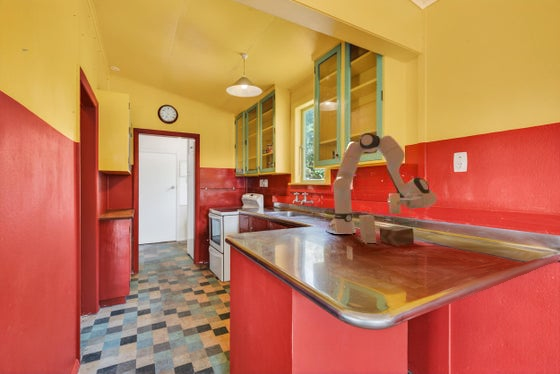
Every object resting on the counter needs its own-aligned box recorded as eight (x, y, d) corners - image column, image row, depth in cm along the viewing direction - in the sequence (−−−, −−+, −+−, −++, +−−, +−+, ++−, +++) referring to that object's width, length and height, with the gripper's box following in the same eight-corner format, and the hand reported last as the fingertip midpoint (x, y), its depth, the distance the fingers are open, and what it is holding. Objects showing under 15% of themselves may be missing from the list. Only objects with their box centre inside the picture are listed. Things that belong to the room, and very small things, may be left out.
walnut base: (380, 241, 143) (379, 227, 143) (396, 239, 148) (395, 225, 148) (396, 246, 132) (395, 230, 132) (413, 243, 136) (413, 228, 136)
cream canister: (387, 213, 141) (386, 194, 141) (395, 212, 143) (394, 193, 143) (395, 214, 136) (394, 194, 136) (403, 213, 138) (401, 193, 138)
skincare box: (376, 244, 139) (375, 216, 139) (364, 244, 139) (362, 216, 139) (371, 240, 147) (369, 214, 147) (359, 241, 147) (358, 214, 147)
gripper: (397, 195, 154) (379, 196, 149) (427, 195, 135) (408, 197, 130) (398, 205, 154) (380, 207, 149) (428, 207, 135) (408, 209, 130)
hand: (393, 202), depth 140 cm, fingers closed on cream canister, 5 cm apart
